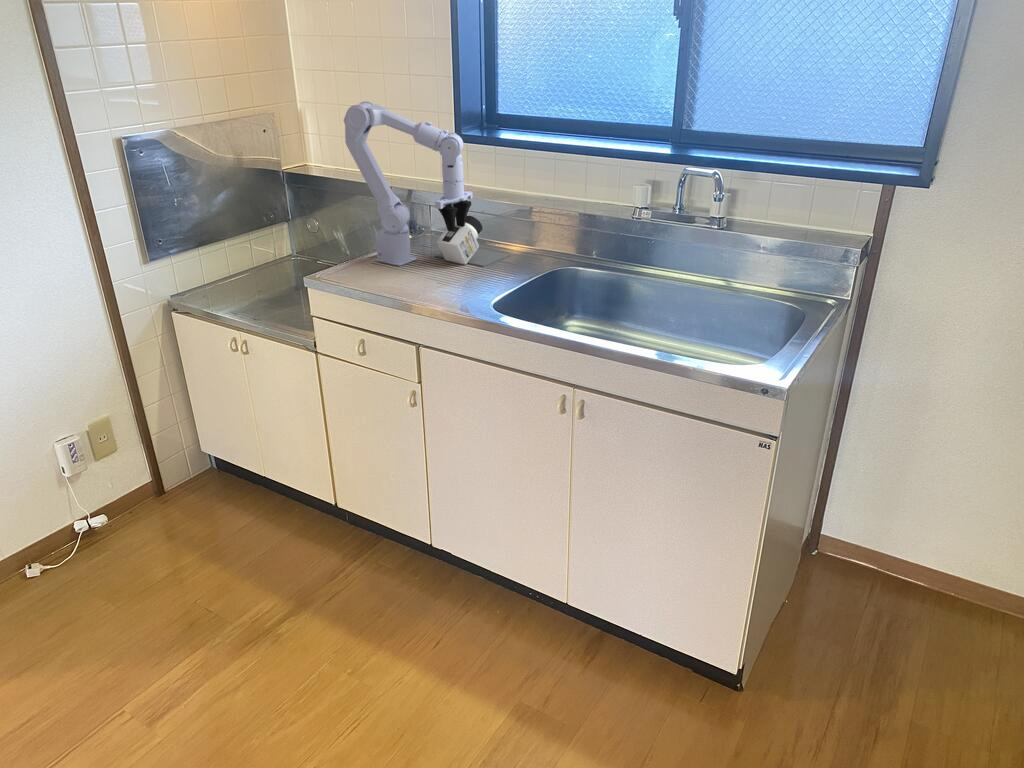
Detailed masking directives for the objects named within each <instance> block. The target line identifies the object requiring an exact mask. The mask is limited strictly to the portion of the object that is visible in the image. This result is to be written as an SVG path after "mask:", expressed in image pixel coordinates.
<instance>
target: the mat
mask: <svg viewBox="0 0 1024 768" xmlns="http://www.w3.org/2000/svg"><path fill="white" fill-rule="evenodd" d="M508 256H509V257H511V255H510V254H507V253H503V252H498V251H492V250H488V249H482V248H478V249H477V250H476V252H475V253H474V255H473V256H472V257H471V259H470V260H469V261H468V263H467V264H468V265H473V266H476V267H481V268H486V267H488V266H489V265H492V264H495V263H497V262H499V261H502V260H504V259H506V257H507V258H509V257H508ZM434 257H435V258H439V259H444V260H445V258H444V256H443V254H442V252H439V253H437V254H435V255H434ZM467 264H466V265H467Z"/></svg>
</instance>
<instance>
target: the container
mask: <svg viewBox="0 0 1024 768" xmlns="http://www.w3.org/2000/svg"><path fill="white" fill-rule="evenodd" d="M482 231H483V225H482V223H481V221H480V220H479V219H478V218H476V217H474V216H472V215H467V217H466V221H465V226H464V227H461V226H457V224H455V231H448V230H447V227H446V228H445V230H444V231H443V232H442V234H441V235H440V236H439V237H438V239H437V240H436V244H437V246H438V248H439V250H440V253H442V254H443V256H444V258H445V259H444V260H445V261H447V262H451V263H455V264H460V265H463V266H465V265H467V263H468V261H469V260H470V259H471V257H472V256H473V255H474V253H475V252H476V250H477V249H480V245H479V242H478V241H477V239H478V237H479V236H480V234H481V233H482Z"/></svg>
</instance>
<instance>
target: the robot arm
mask: <svg viewBox="0 0 1024 768" xmlns="http://www.w3.org/2000/svg"><path fill="white" fill-rule="evenodd" d="M343 123H344V136H345V139H344V140H345V141H344V142H345V145H346V147H347V149H348V151H349V153H350V155H351V157H352V158H353V160H354V162H355V164H356V167H357V168H358V169H359V172H360V173H361V176H362V177H363V179H364V181H365V183H366V184H367V186H368V188H369V190H370V192H371V193H372V196H373V198H374V199H375V202H376V204H377V205H376V206H377V212H378V215H379V217H380V225H381V228H380V229H379V230H378V232H377V233H376V237H375V245H376V258H375V262H376V261H377V262H380V263H385V264H390V265H393V266H398V267H400V266H404V265H406V264H409V263H411V262H415V261H416V260H418V258H417V257H416V256H411V243H410V242H411V238H410V228H409V226H408V224H407V223H408V222H409V220H410V219H411V213H410V210H409V208H408V206H406V205H405V204H403V203H402V201H401V200H400V198H399V196H397V195H396V194H395V193H394V191H393V190H392V189H391V186H390V184H389V183H388V180H387V179H386V176H385V175H384V172H383V171H382V169H381V167H380V165H379V163H378V162H377V160H376V158H375V156H374V154H373V152H372V149H371V148H370V146H369V145H368V142H367V139H368V137H369V135H370V131H371V129H372V128H373V127H377V126H384V125H385V126H387V127H388V128H389V127H390V128H391V129H392V128H393V129H394V130H398V131H400V132H403V133H405V134H408V135H409V136H412V137H413V140H414V142H415V143H416V144H419V145H421V146H423V147H426V148H428V149H430V150H433V151H434V152H439V154H440V156H441V162H442V163H441V171H442V189H443V196H442V197H440V198H439V199H437V200H434V208H435V209H437V210H438V211H439V213H440V215H441V216H442V218H443V220H444V223H445V226H446V228H447V230H448V231H455V225H457V226H461V227H464V226H465V221H466V217H467V216H468V213H469V210H470V209H471V206H472V201H469V200H472V199H473V198H474V195H473V191H469V190H466V191H465V183H464V182H465V181H464V180H465V179H464V162H463V153H462V151H463V149H464V141H463V138H462V137H461V136H460V134H457V133H456V132H449V130H448V129H444V130H443V129H441V128H439V127H437V126H434V125H433V122H431V121H426V122H425V121H421V122H419V123H416V122H414V121H412V120H410V119H407V118H405V117H404V116H401V115H399V114H398V113H396V112H393V111H392V110H389V109H387V108H386V107H383V106H381V105H379V104H374V103H372V102H370V101H366V100H365V101H361V102H359V103H358V104H353V105H351V106H350V107H348V108H347V111H346V113H345V116H344V118H343Z"/></svg>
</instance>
